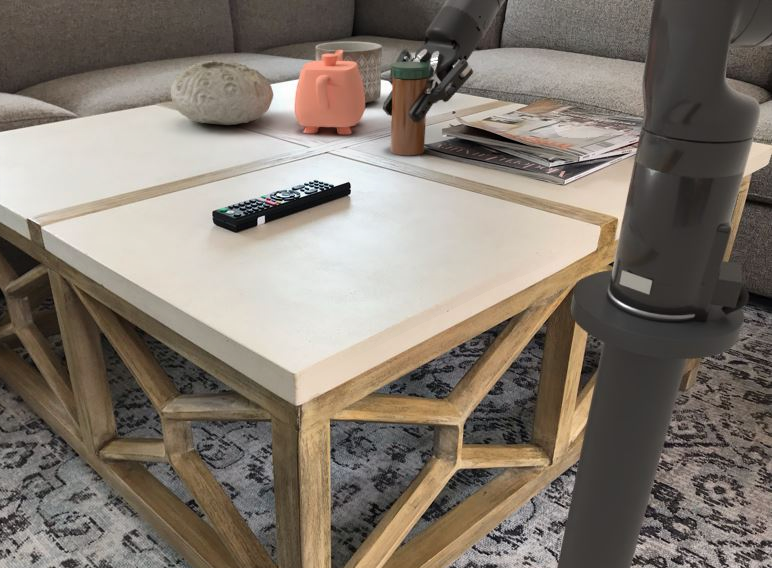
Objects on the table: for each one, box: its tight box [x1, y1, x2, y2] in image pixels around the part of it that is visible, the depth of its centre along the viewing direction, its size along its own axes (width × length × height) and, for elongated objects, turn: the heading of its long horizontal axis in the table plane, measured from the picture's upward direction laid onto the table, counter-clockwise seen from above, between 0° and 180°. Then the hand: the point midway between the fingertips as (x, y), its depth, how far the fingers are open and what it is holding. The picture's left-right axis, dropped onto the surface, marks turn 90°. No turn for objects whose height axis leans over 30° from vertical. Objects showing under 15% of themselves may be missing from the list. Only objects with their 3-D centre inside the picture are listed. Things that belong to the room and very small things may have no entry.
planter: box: [314, 41, 383, 104], centre depth 143 cm, size 13×13×10 cm
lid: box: [389, 61, 431, 79], centre depth 108 cm, size 6×6×2 cm
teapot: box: [294, 50, 366, 135], centre depth 125 cm, size 20×12×12 cm, turn 170°
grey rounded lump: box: [169, 59, 274, 126], centre depth 129 cm, size 18×18×10 cm
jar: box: [389, 77, 427, 157], centre depth 111 cm, size 5×5×12 cm
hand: (399, 115), depth 110 cm, fingers closed on jar, 5 cm apart
